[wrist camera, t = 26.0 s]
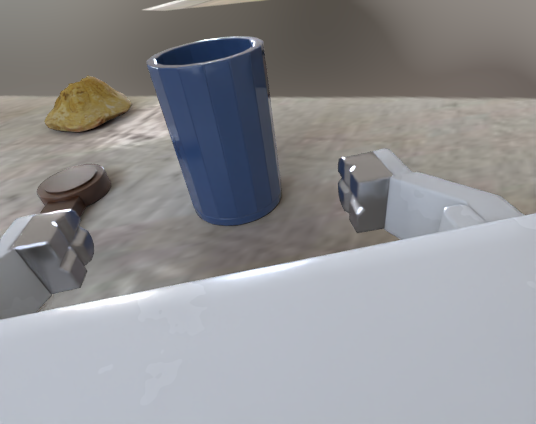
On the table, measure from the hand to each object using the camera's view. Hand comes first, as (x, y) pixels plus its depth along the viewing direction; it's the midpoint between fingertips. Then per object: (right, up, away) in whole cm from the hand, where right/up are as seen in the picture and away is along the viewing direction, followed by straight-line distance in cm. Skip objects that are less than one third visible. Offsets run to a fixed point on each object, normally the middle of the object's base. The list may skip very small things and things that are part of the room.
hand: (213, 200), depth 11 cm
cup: (0, +1, +14) cm, 14 cm away
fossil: (-21, +12, +33) cm, 41 cm away
